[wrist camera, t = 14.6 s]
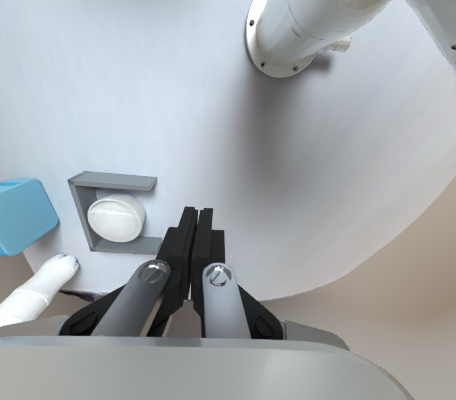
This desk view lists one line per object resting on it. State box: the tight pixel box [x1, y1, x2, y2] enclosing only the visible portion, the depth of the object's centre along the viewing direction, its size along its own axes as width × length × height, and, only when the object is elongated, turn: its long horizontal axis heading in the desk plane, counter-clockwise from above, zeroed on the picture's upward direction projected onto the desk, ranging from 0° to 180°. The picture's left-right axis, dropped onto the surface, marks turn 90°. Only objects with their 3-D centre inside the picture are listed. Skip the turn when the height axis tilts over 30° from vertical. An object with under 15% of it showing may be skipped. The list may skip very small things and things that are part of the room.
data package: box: [0, 179, 58, 256], centre depth 37 cm, size 12×4×12 cm, turn 179°
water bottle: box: [0, 254, 79, 327], centre depth 40 cm, size 7×7×25 cm
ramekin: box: [88, 193, 146, 242], centre depth 42 cm, size 11×11×5 cm
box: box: [68, 171, 162, 255], centre depth 42 cm, size 15×18×5 cm
